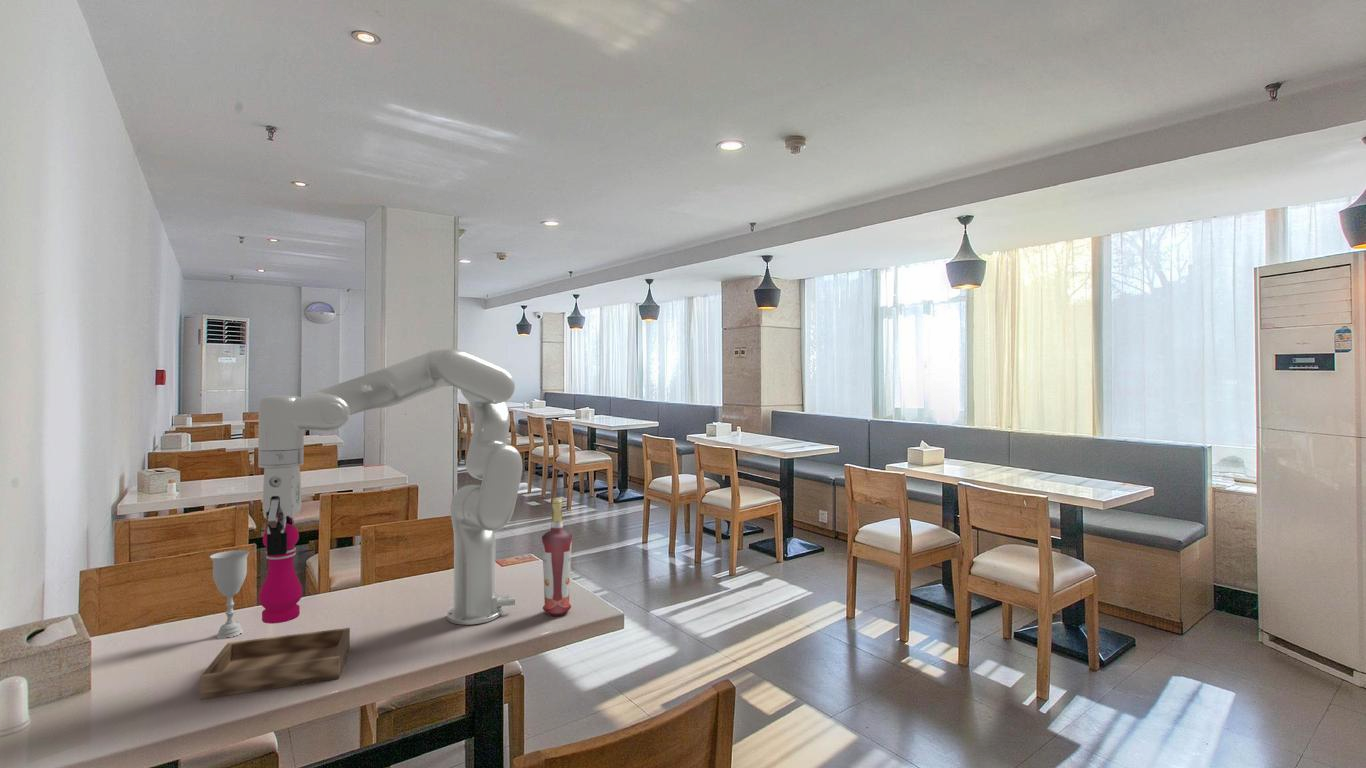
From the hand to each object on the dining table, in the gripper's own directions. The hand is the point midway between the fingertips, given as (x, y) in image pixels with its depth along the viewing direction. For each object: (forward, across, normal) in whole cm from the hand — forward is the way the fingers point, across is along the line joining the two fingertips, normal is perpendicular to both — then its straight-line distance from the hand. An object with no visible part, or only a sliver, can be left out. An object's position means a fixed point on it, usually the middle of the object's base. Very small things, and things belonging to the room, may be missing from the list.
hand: (281, 549), depth 125 cm
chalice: (+24, +25, +15) cm, 38 cm away
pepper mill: (+14, 0, 0) cm, 14 cm away
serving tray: (+24, 0, 0) cm, 24 cm away
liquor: (+24, +12, -56) cm, 62 cm away
